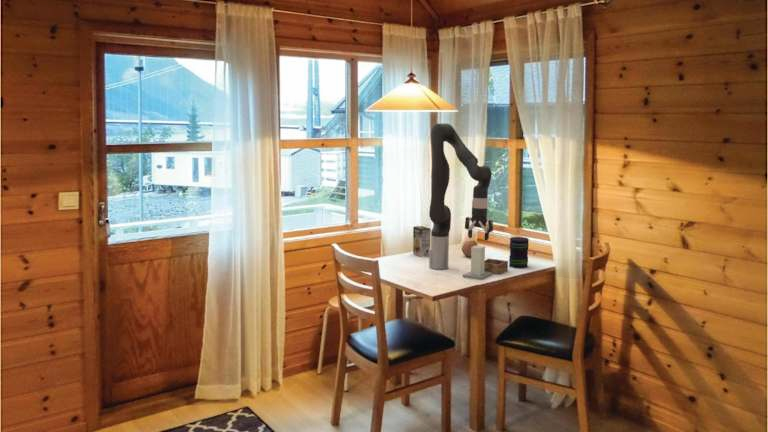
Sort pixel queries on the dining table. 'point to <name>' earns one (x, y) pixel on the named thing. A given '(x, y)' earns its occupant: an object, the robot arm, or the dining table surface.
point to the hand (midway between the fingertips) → (478, 239)
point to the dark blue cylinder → (518, 252)
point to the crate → (495, 266)
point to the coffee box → (421, 241)
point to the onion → (468, 248)
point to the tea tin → (477, 260)
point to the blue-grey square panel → (480, 277)
